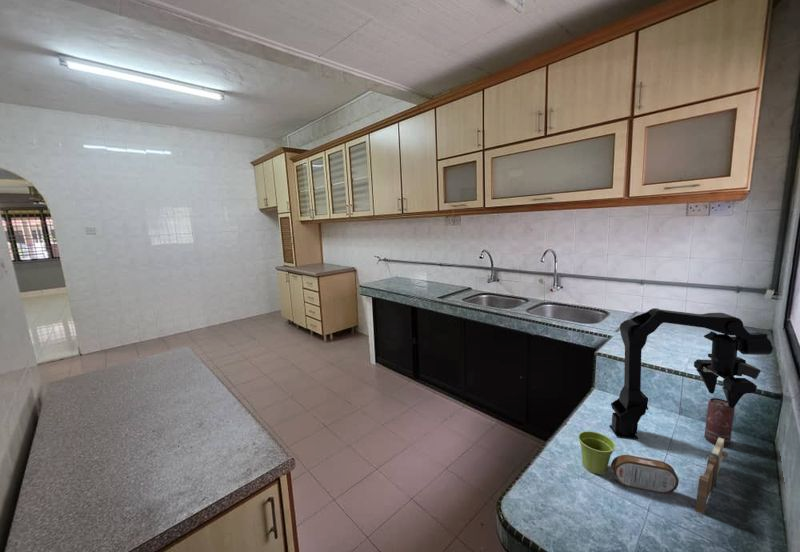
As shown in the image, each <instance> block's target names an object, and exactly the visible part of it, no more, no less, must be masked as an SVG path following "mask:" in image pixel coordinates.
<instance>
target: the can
mask: <svg viewBox="0 0 800 552" xmlns="http://www.w3.org/2000/svg"><path fill="white" fill-rule="evenodd" d="M735 408H736V406H735V407H734V408H730V407H729V405H728V403H727V400H726V399H722V398H718V397H717V398H715V397H712V398H709V400H708V404H707V411H706V420H705V428H704V437H703V438H705V440H706V441H707V442H708V443H710V444H712V445H714V446H715V444H716V442H717V440H718V438H719V437H720V438H723V439H724V447H723V448H727V447H729V446H730V445H731V440H732V430H733V424H734V416H735Z"/></svg>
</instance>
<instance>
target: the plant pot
mask: <svg viewBox="0 0 800 552" xmlns="http://www.w3.org/2000/svg"><path fill="white" fill-rule="evenodd" d="M577 438H578V441H579V444H580V448H581V449H580V450H581V461H582V466H583V468H584V469H586V470H587V471H589V472H590V473H594V474H598V475H604V474H605V473H606V472H607V469H608V467H609V463H610V459H611V455H612V453H613V452H614V451H615V449H616V444H615V442H614V440H612V439H611V438H609V437H608V436H606V435H605V434H603V433H600V432H596V431H591V430H588V431H587V430H585V431H582V432H579V433H578V436H577Z"/></svg>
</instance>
